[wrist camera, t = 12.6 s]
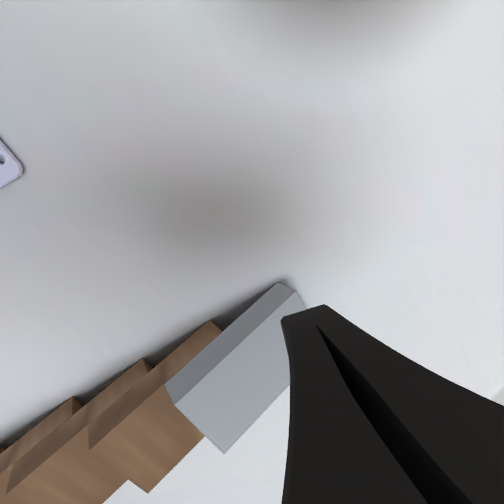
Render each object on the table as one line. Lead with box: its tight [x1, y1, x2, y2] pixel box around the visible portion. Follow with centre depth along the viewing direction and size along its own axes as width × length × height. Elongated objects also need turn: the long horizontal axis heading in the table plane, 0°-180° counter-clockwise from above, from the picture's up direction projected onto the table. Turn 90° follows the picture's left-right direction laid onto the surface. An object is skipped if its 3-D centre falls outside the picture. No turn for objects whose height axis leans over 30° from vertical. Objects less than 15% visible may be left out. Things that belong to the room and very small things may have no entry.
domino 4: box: [164, 282, 307, 454], centre depth 19 cm, size 2×5×9 cm
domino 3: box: [87, 320, 222, 493], centre depth 19 cm, size 2×5×9 cm
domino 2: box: [5, 358, 152, 504], centre depth 20 cm, size 2×5×9 cm
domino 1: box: [0, 396, 84, 504], centre depth 20 cm, size 2×5×9 cm
